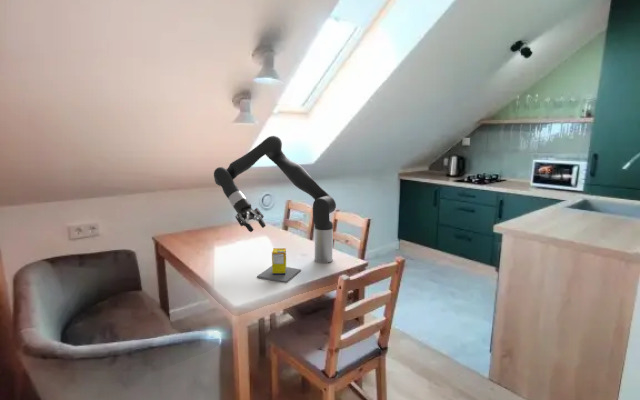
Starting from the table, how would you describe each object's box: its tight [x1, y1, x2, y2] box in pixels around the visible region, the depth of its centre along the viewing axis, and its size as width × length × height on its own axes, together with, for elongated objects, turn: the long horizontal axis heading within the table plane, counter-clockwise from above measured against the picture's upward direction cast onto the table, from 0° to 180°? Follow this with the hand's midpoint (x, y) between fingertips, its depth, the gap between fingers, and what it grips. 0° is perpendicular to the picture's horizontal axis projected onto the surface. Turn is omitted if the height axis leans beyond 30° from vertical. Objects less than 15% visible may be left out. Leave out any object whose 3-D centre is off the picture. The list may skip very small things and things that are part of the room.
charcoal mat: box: [256, 265, 302, 284], centre depth 172 cm, size 15×15×1 cm
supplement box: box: [271, 247, 287, 275], centre depth 171 cm, size 6×6×11 cm
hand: (258, 228), depth 174 cm, fingers open, 8 cm apart
